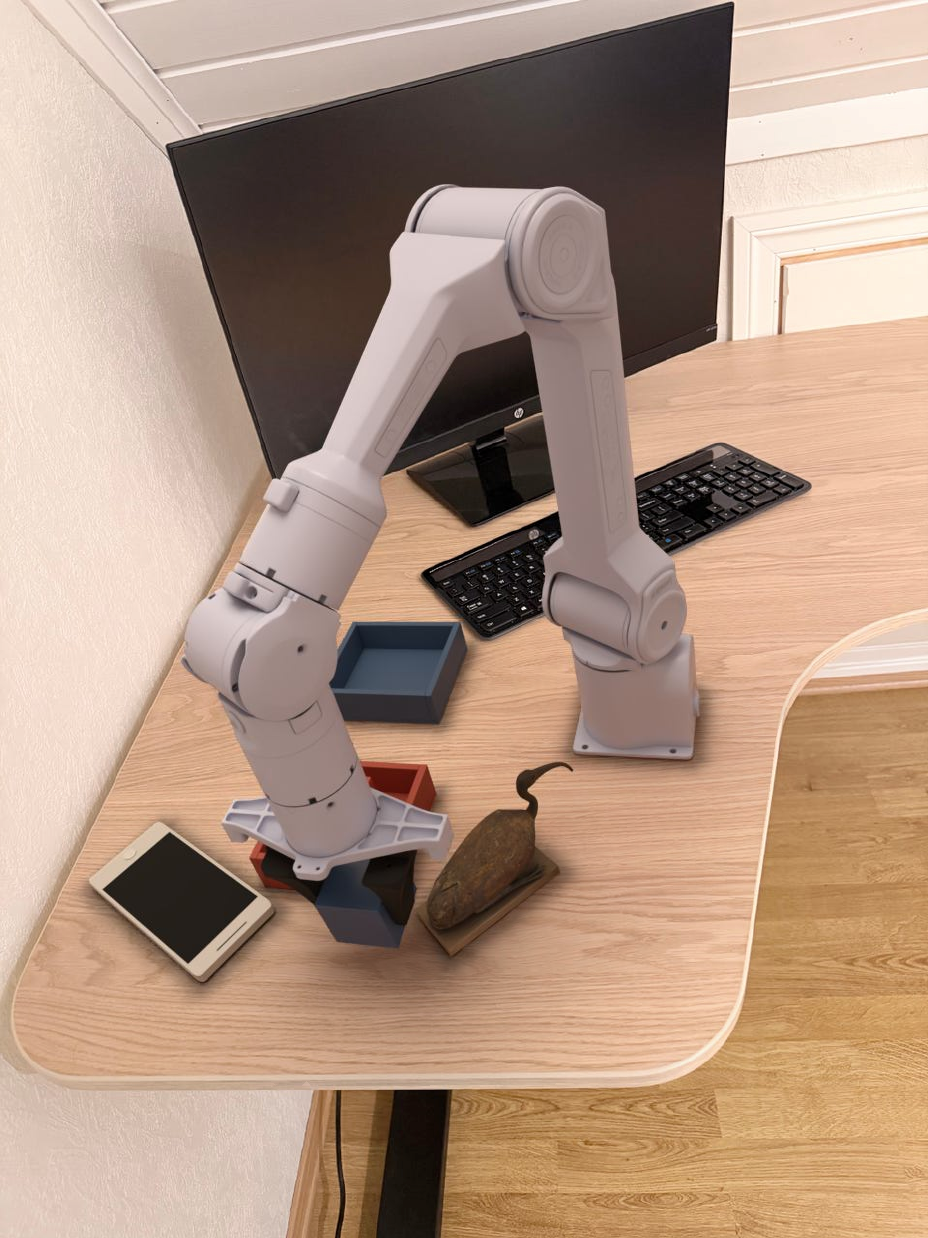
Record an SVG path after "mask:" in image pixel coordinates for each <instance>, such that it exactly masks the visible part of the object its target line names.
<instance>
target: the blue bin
mask: <svg viewBox="0 0 928 1238" xmlns="http://www.w3.org/2000/svg"><path fill="white" fill-rule="evenodd" d="M337 649H338V659H337V666H336V670H335V674H334V677H333V678H332V680H331V681H330V682H329V685H330V687H331V690H332V692H333V694H334V696H335V699H336V702H337V704H338V707H339V709H340V712H341V715H342V717H343V720H344V722H347V721H348V722H367V723H368V722H371V723H372V722H373V723H395V724H417V725H418V724H420V725H440V724H441V722H442V719H443V716H444V713H445V711H446V708H447V706H448V703H449V701H450V698H451V695H452V693H453V690H454V687H455V685H456V681H457V679H458V677H459V674H460V671H461V668H462V667H463V663H464V661H465V658H466V656H467V653H468V651H469V649H468V645H467V641H466V638H465V633H464V630H463V625H462V622H461V621H352V622H351V624H350V626H349V628H348V630H347V631H346V633H345V635H344V636H343V639H342V641H341V642H340V645H339V647H337Z"/></svg>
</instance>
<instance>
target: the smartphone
mask: <svg viewBox="0 0 928 1238" xmlns="http://www.w3.org/2000/svg"><path fill="white" fill-rule="evenodd" d="M88 883H89V884H90V886H91V887H92V888H93V890H94V891H95V892H96V893H98V895H99V896H101V897H102V898H103V899H104V900H105V901H106V902H107V903H108V904H110V905H111V906H112V907H113V908H114V909H116V911H118V912H119V913H120V914H121V915H123V917H124V918H125V919H127V920H128V921H129V922H130V923H132V925H134V926H135V927H136V928H137V929H138V930H140V931H141V932H142V934H144V935H145V936H146V937H147V938H148V939H150V940H151V942H153V943H154V944H155V945H156V946H158V947H159V948H160V949H161V950H162V951H163V952H165V953H166V954H167V955H168V956H169V957H170V958H171V959H172V960H174V961H175V962H176V963H177V964H178V965H179V966H180V967H182V969H184V970H185V971H186V972H187V973H188V974H189V975H191V976H192V977H193V978H194V979H195V980H196V981H198V982H201V983H204V982H206V981H207V980H208V979H209V978H210V977H211V976H212V975H213V974H214V973H215V972H216V971H217V970H218V969H219V968H220V967H221V966H222V965H223V964H224V963H225V962H226V961H227V960H228V959H229V958H230V957H231V956H232V955H233V954H234V953H235V952H236V951H237V950H238V949H239V948H240V947H241V946H242V945H243V944H244V943H246V942H247V940H248V939H249V938H250V937H251V936H252V935H253V934H255V932H256V931H257V930H258V929H259V928H261V926H263V924H264V923H265V922H267V921H268V919H269V918H271V916H272V915H274V913H275V912H276V911H275V908H274V906H273V904H272V903H271V901H270V900H269V899H268V898H266V897H265V896H264V895H263V894H261V893H260V892H259V891H257V890H256V889H254V888H253V887H252V886H250V885H249V884H247V883H246V882H244V881H243V880H242V879H241V878H239V877H238V876H237V875H235V874H234V873H232V872H231V871H230V870H228V869H227V868H226V867H224V866H223V865H221V863H218V862H217V861H216V860H214V859H213V858H212V857H210V856H209V855H207V854H206V853H205V852H203V850H201V849H199V848H198V847H196V846H195V845H193V844H192V843H191V842H190V841H188V840H187V839H186V838H184V837H183V836H182V835H180V834H179V833H177V832H176V831H175V830H173V829H172V828H170V827H169V826H168V825H166V824H165V823H164V822H161V821H156V822H154V824H153V825H151V826H150V827H148V829H146V830H145V831H144V832H142V834H141V835H139V836H138V837H137V838H136V839H134V840H133V841H132V842H131V843H130V844H129V845H127V846H126V847H125V848H124V849H122V850H121V851H120V852H119V853H118V854H116V856H114V857H113V858H111V860H109V861H108V862H107V863H105V865H104V866H102V867H101V868H100V869H99V870H98V871H96V872H95V873H93V874H92V875H91V877H89V879H88Z"/></svg>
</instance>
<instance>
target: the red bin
mask: <svg viewBox="0 0 928 1238" xmlns="http://www.w3.org/2000/svg"><path fill="white" fill-rule="evenodd" d="M360 763H361V766H362V768H363V771H364V773H365V776H366V777H371V779H372V781H373V784H374V787H375V789H376V790H378V791H380V792H382V793H385V794H387V795H389V796H392V797H394V798H396V799H399V800H401V801H404V802H406V803H408V804H411V805H413V806H415V807H418V808H420V809H423V810H426V811H429V812H432V809H433V805H434V802H435V799H436V797H437V791H436V788H435V785H434V781H433V778H432V775H431V772H430V769H429V765H428V764H423V763H421V764H419V763H405V762H404V763H403V762H387V761H369V760H368V761H367V760H360ZM256 841H257V840H256ZM266 846H267V845H265V844H263V843H261V842H259V841H257V842H256V843H255V845H254V847H253V849H252V851H251V853H250V855H249V856H248V859H249V861H250V862H251V864H252V866H253V868H254V870H255V872H256V874H257V876H258V877H259V879H260V881H261V883H262V885H263V887H269V888H278V889H287V890H294V889H293V888H291V887H289V886H287V885H285V884H283V883H281V882H279V881H276V880H274V879H270V878H267V877H265V876H264V874H263V872H262V870H261V862H262V860H263V858H264V856H265V854H266V852H267V850H266Z"/></svg>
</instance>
